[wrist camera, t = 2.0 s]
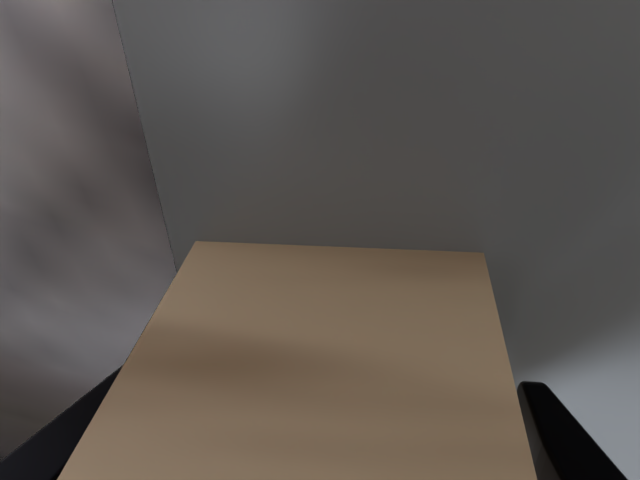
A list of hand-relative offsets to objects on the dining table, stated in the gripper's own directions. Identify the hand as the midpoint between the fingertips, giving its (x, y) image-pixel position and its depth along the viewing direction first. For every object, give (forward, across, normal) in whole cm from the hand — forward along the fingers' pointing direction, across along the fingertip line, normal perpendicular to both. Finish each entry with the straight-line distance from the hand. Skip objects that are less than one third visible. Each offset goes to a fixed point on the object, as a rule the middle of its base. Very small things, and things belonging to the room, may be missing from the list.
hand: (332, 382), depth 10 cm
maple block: (+1, 0, 0) cm, 1 cm away
